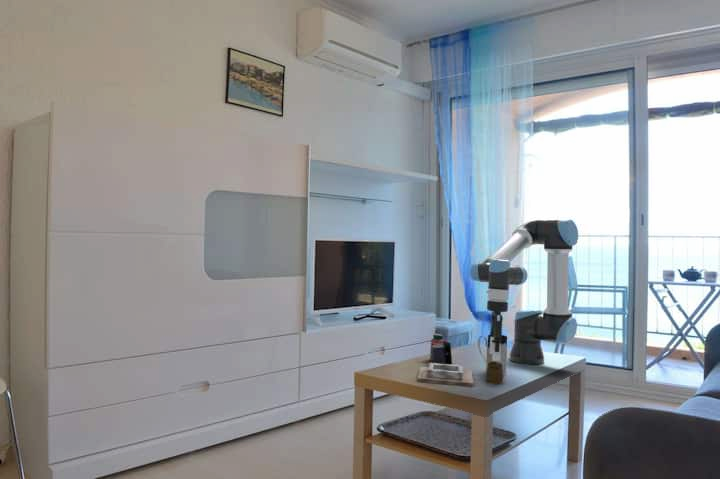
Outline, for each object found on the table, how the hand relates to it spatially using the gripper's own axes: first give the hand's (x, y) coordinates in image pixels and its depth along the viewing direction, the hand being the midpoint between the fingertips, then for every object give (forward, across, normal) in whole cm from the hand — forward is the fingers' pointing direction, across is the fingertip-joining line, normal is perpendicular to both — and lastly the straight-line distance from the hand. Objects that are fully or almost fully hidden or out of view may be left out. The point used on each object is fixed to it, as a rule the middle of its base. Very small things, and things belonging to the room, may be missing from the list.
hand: (494, 357), depth 201 cm
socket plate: (+9, 0, -18) cm, 20 cm away
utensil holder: (+9, 0, 0) cm, 9 cm away
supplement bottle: (+9, -31, -22) cm, 39 cm away
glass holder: (+9, -17, 0) cm, 20 cm away
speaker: (+9, -20, -20) cm, 30 cm away
